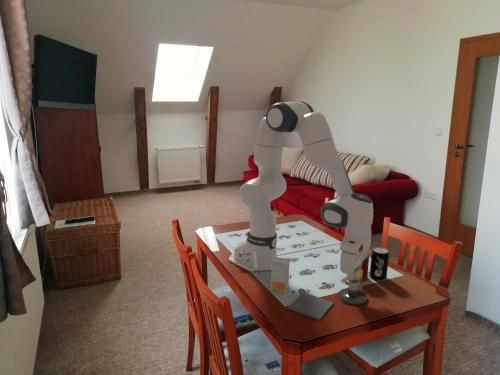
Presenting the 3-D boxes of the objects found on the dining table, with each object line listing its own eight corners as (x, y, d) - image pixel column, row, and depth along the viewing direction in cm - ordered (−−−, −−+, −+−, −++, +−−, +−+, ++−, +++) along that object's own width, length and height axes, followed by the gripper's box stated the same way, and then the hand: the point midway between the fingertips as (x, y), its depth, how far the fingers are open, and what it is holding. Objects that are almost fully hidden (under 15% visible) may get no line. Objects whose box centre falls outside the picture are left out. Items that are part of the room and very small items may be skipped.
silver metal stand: (334, 299, 135) (335, 280, 133) (344, 287, 142) (345, 269, 141) (361, 308, 129) (363, 288, 127) (370, 295, 137) (372, 277, 135)
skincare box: (270, 289, 141) (271, 260, 138) (273, 284, 145) (274, 256, 142) (286, 292, 139) (287, 263, 136) (288, 287, 143) (289, 258, 140)
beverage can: (368, 279, 149) (371, 251, 146) (370, 272, 155) (372, 245, 152) (386, 282, 147) (389, 254, 144) (386, 275, 153) (389, 248, 150)
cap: (344, 279, 133) (345, 268, 132) (349, 274, 137) (350, 263, 136) (358, 284, 130) (359, 272, 129) (363, 278, 134) (364, 267, 133)
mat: (287, 308, 129) (287, 306, 129) (303, 293, 138) (303, 292, 138) (319, 320, 122) (319, 318, 122) (333, 303, 132) (333, 302, 131)
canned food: (368, 282, 146) (370, 257, 144) (347, 280, 148) (349, 255, 145) (366, 273, 154) (368, 249, 151) (346, 271, 155) (348, 247, 152)
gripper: (358, 229, 140) (355, 262, 144) (337, 247, 124) (335, 284, 127) (375, 232, 137) (372, 267, 140) (356, 251, 120) (353, 289, 124)
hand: (354, 275), depth 134 cm, fingers closed on cap, 5 cm apart
